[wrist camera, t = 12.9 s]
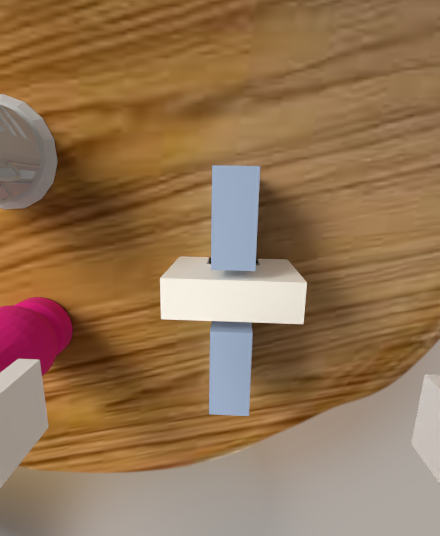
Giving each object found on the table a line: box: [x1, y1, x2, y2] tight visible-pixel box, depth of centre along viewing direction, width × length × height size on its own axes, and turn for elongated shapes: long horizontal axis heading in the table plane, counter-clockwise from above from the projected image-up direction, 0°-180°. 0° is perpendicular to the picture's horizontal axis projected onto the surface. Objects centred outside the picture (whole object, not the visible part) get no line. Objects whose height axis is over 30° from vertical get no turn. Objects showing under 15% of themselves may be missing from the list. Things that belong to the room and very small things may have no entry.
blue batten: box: [209, 165, 260, 416], centre depth 25 cm, size 18×3×8 cm, turn 179°
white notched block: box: [160, 256, 307, 324], centre depth 25 cm, size 10×3×8 cm, turn 89°
